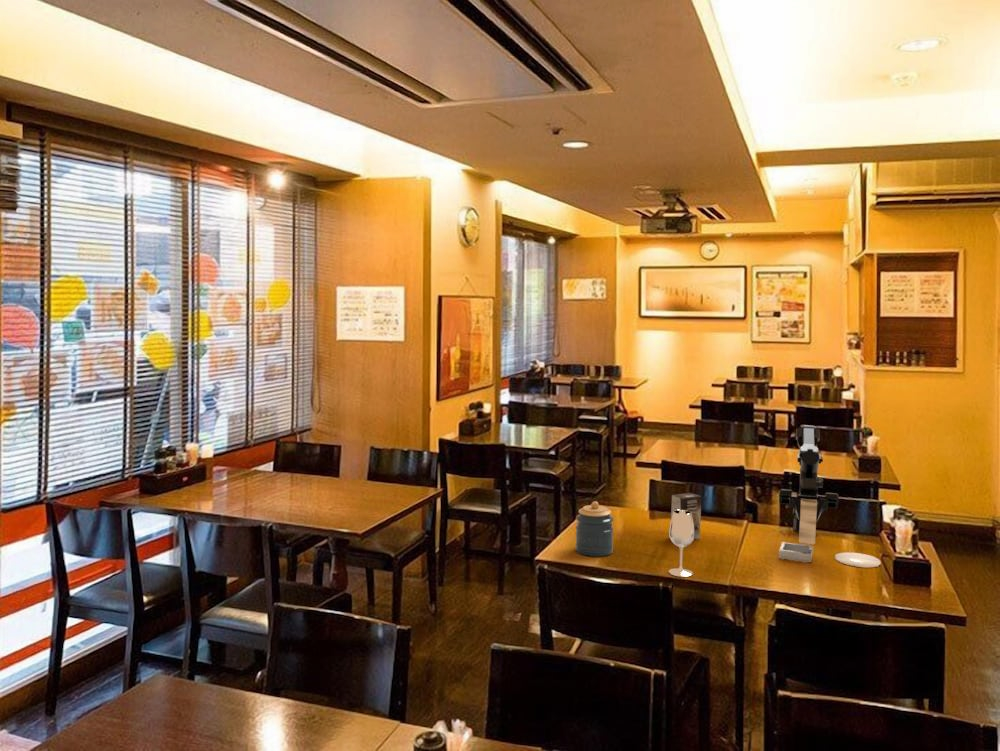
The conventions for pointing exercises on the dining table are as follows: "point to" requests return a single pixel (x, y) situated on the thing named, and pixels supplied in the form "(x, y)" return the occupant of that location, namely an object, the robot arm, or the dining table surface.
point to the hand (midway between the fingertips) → (808, 520)
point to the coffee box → (689, 508)
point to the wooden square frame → (796, 552)
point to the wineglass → (681, 537)
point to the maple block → (807, 521)
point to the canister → (594, 530)
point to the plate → (857, 560)
